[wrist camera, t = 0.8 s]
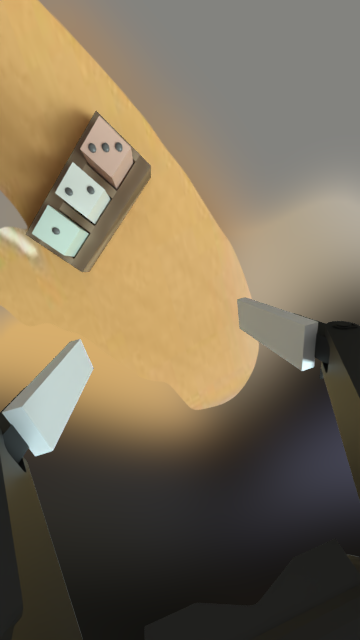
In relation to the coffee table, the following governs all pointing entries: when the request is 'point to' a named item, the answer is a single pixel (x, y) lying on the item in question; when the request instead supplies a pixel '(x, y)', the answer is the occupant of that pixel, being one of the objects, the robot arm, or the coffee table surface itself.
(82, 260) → the board
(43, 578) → the robot arm
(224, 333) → the coffee table surface
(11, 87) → the coffee table surface
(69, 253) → the tile one
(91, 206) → the tile two
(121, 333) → the coffee table surface
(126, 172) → the tile three
